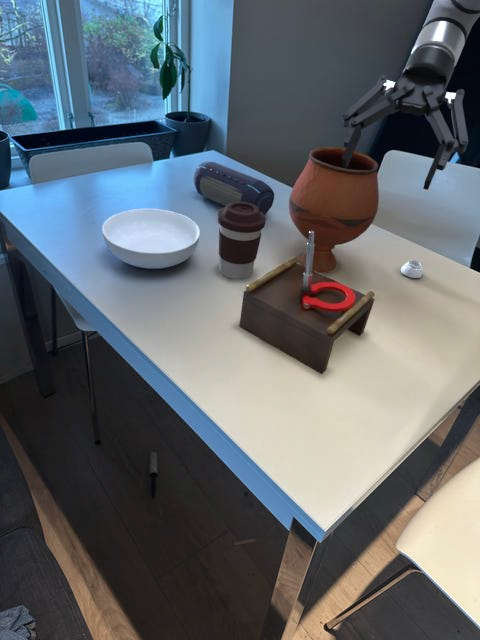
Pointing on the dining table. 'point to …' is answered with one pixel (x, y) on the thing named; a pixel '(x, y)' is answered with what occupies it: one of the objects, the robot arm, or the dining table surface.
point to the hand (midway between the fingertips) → (383, 174)
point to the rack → (300, 315)
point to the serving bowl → (151, 237)
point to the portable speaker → (231, 186)
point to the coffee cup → (239, 238)
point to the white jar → (412, 269)
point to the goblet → (334, 202)
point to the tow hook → (321, 286)
